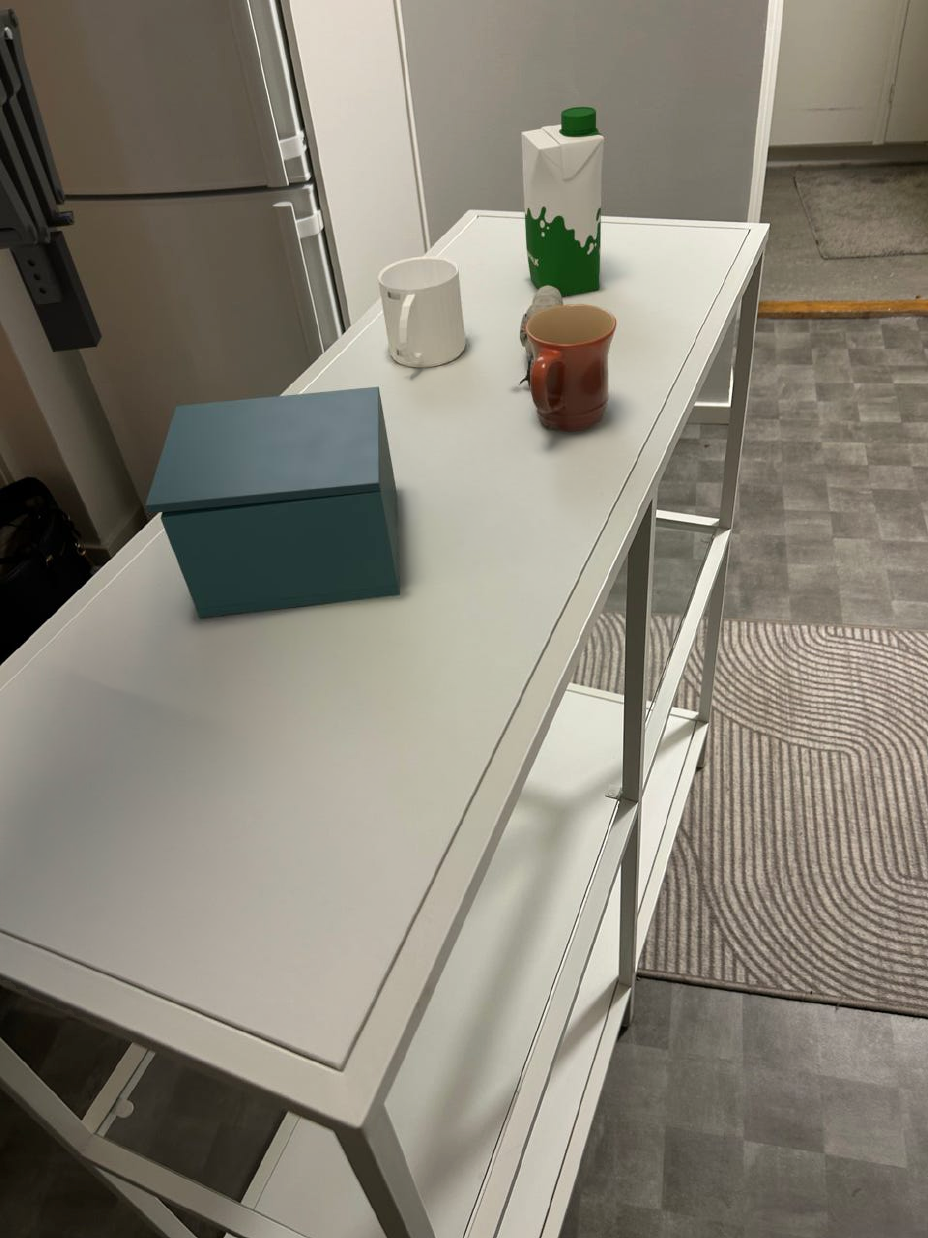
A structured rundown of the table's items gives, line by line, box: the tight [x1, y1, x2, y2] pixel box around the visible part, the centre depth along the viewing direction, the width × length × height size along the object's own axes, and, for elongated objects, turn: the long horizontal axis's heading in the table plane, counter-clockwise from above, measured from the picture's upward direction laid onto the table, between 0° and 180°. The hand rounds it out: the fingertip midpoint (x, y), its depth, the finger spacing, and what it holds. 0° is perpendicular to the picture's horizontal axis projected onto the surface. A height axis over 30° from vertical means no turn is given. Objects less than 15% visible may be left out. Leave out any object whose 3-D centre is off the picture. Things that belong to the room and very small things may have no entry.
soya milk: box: [520, 106, 605, 298], centre depth 113 cm, size 9×9×20 cm
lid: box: [144, 386, 381, 514], centre depth 76 cm, size 18×15×1 cm
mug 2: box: [525, 303, 617, 433], centre depth 91 cm, size 12×9×10 cm
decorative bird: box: [518, 285, 564, 389], centre depth 103 cm, size 5×16×8 cm, turn 173°
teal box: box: [160, 396, 401, 619], centre depth 80 cm, size 17×15×10 cm
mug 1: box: [377, 255, 466, 368], centre depth 106 cm, size 12×9×9 cm
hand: (77, 343), depth 57 cm, fingers closed
